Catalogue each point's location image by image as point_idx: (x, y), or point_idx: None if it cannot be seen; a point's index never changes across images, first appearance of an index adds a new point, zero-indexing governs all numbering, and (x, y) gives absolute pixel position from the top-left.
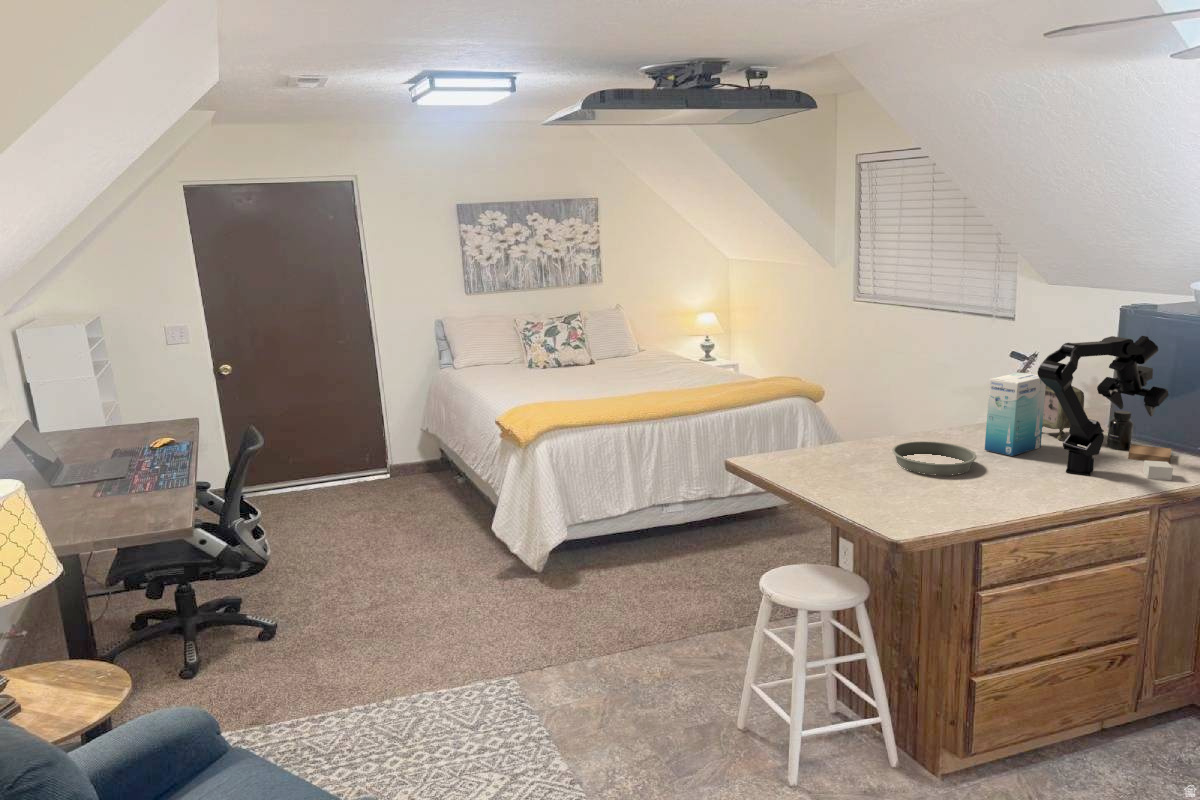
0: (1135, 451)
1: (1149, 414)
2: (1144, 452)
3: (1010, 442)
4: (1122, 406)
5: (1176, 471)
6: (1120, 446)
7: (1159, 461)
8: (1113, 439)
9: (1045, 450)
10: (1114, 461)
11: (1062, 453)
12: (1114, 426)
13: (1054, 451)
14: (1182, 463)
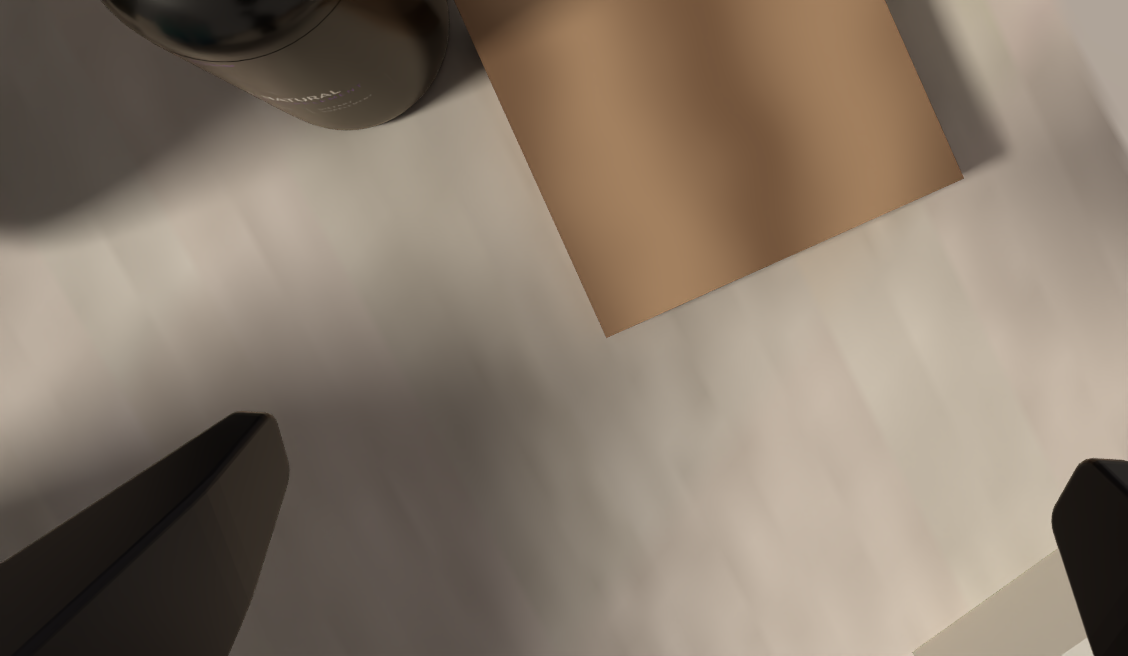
0: (625, 240)
1: (1107, 634)
2: (699, 201)
3: None
4: (256, 475)
5: (1094, 380)
6: (402, 102)
7: None
8: (310, 111)
9: None
10: (577, 510)
11: None
12: (219, 64)
13: None
14: (1005, 64)
